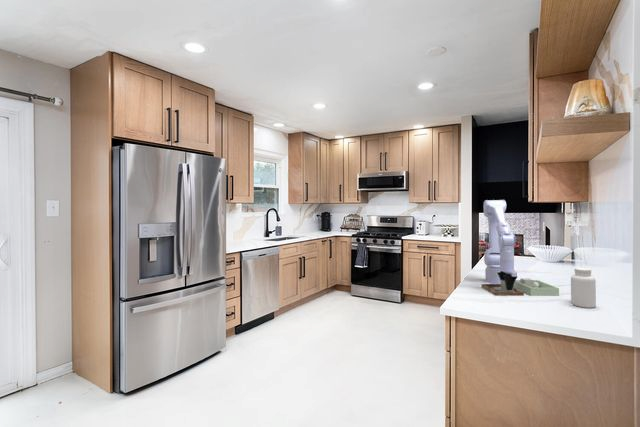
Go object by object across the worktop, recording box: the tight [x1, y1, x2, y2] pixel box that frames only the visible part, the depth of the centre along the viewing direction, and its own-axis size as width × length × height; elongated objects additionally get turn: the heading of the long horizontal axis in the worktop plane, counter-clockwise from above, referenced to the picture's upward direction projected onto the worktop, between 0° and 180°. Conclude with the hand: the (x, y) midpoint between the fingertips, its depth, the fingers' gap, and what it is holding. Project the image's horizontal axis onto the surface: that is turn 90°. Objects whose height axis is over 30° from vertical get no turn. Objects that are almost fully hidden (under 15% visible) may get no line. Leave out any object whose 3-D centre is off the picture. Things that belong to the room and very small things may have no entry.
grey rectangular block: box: [519, 277, 535, 288], centre depth 157 cm, size 4×4×5 cm
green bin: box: [514, 279, 560, 297], centre depth 155 cm, size 16×12×4 cm
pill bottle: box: [570, 267, 597, 309], centre depth 134 cm, size 8×8×15 cm
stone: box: [500, 280, 514, 292], centre depth 156 cm, size 4×4×5 cm
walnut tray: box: [481, 283, 525, 297], centre depth 156 cm, size 16×12×2 cm
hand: (507, 288), depth 156 cm, fingers closed on stone, 4 cm apart
